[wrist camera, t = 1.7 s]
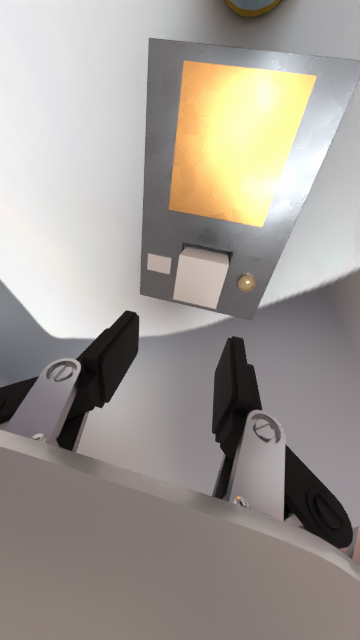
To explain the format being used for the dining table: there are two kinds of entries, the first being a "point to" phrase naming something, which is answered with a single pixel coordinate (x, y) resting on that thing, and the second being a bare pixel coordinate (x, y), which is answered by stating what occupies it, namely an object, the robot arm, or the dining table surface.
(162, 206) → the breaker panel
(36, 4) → the dining table surface
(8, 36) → the dining table surface
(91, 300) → the dining table surface
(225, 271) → the switch
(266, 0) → the bottle
